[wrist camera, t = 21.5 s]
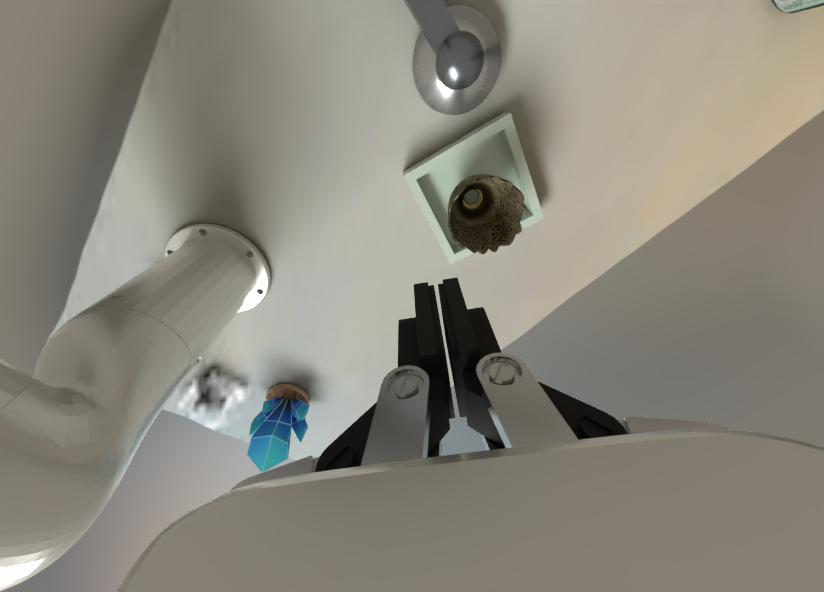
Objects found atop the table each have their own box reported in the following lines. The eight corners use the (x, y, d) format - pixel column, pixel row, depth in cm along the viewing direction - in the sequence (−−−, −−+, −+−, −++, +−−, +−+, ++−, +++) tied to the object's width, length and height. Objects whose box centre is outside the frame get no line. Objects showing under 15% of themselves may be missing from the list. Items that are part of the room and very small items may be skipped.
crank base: (506, 86, 31) (512, 85, 29) (434, 129, 33) (436, 131, 31) (476, -11, 27) (481, -19, 25) (397, 44, 29) (396, 41, 27)
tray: (447, 255, 40) (450, 264, 38) (403, 171, 35) (403, 175, 33) (536, 212, 38) (544, 218, 36) (503, 112, 32) (510, 112, 30)
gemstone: (312, 413, 57) (292, 480, 47) (263, 405, 55) (232, 473, 45) (318, 387, 53) (298, 454, 43) (266, 377, 52) (232, 444, 41)
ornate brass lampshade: (444, 159, 34) (455, 173, 27) (510, 165, 34) (536, 180, 27) (436, 225, 38) (443, 252, 31) (495, 229, 38) (515, 256, 31)
